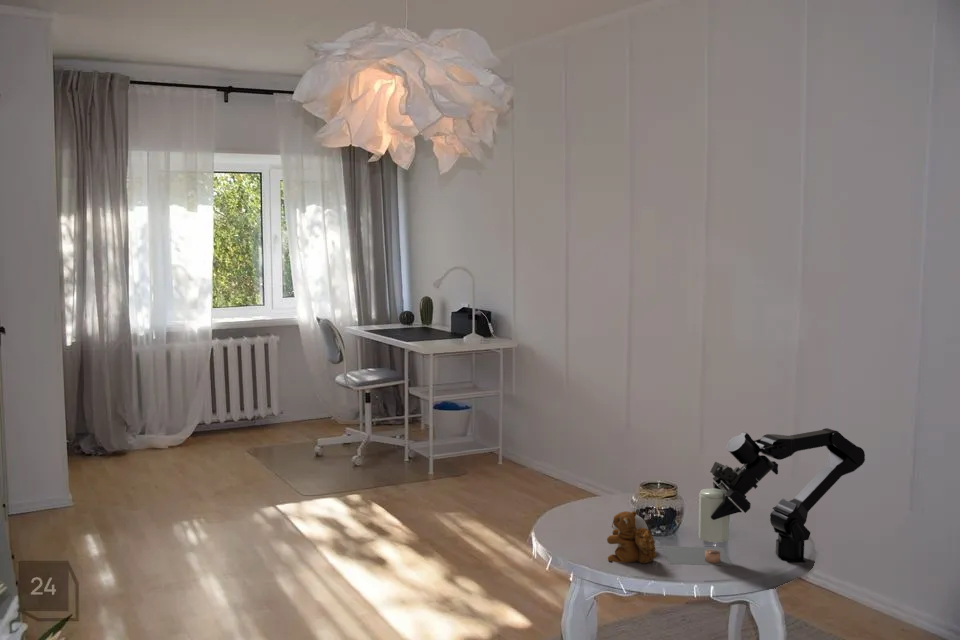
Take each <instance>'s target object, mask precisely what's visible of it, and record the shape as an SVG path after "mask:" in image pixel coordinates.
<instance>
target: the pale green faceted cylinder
mask: <svg viewBox="0 0 960 640" xmlns="http://www.w3.org/2000/svg"><path fill="white" fill-rule="evenodd" d="M726 493H727V491H725V490H721V489H714V487H712V488H703V489H701V490H700V492H699V493H698V535H697V536H698V537H699V539H700V540H701V541H706V542H709V543H723V542H726V541H728V540H729V535H730V533H729V531H730V528H729V527H730V524H729V523H730V515H728V516H725V517H722V518H718V519H715V520H713V519H712V518H711V516H712V514H713V513H714V512H715V510H716V509H717V508H718V507H719V505H720V504H721V503H722V502H723V494H725V495H726V496H727V497H729V496H728V495H727V494H726Z"/></svg>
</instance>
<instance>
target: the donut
mask: <svg viewBox="0 0 960 640" xmlns="http://www.w3.org/2000/svg"><path fill="white" fill-rule="evenodd" d="M635 526H636V528H637V529H639V528H646V529H649V527H648V524H647V522H646V521H645V520H644V519H643V517H641V516H640V515H638V514H636V516H635ZM615 529H617V528H616V527H615V526H614V525H613V528H612V530H615Z"/></svg>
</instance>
